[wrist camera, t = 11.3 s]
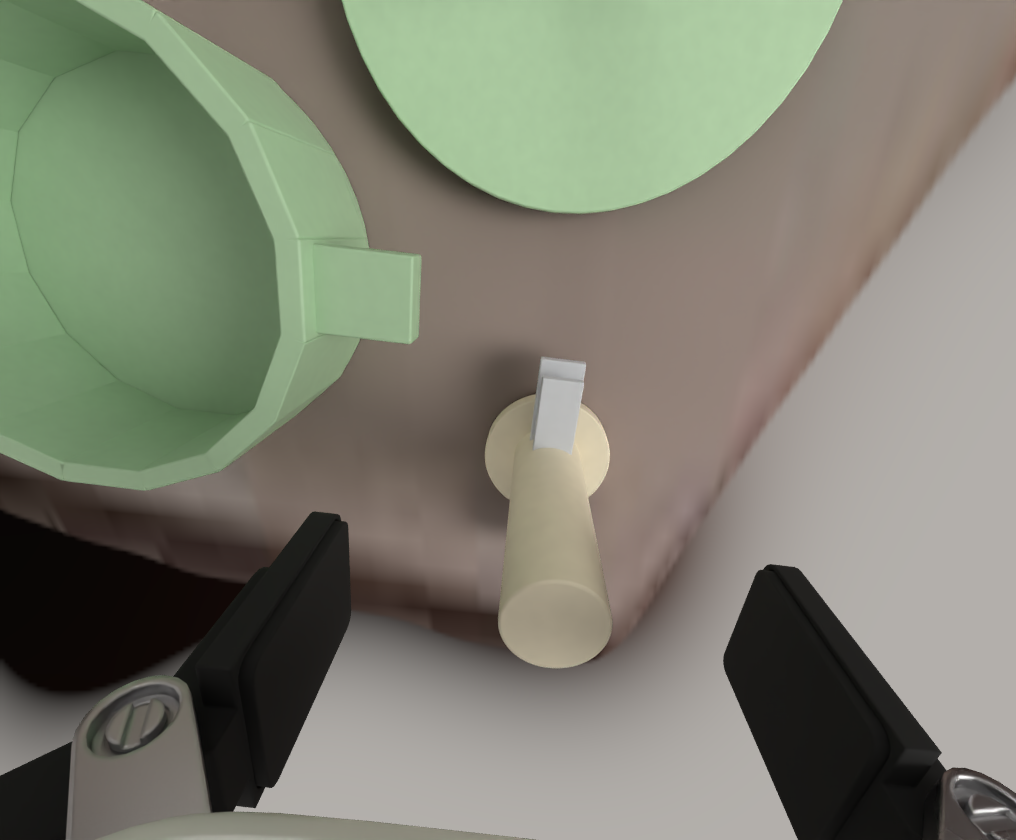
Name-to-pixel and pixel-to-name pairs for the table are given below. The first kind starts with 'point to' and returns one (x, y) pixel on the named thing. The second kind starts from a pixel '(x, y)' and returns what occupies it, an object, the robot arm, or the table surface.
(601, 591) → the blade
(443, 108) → the lid
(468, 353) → the table surface
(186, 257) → the pot
